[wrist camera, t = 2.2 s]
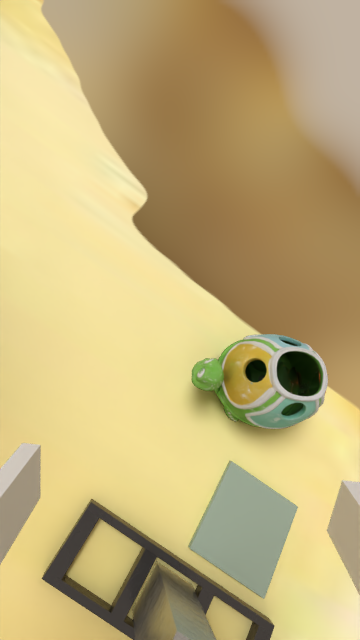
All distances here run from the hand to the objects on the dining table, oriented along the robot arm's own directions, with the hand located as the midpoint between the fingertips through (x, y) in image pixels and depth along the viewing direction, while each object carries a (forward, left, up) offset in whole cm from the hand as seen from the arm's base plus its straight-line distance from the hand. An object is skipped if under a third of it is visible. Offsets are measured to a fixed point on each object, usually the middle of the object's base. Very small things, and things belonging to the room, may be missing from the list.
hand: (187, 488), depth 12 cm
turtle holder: (+17, +2, -26) cm, 31 cm away
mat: (+11, -15, -26) cm, 32 cm away
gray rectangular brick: (-1, -18, -26) cm, 32 cm away
